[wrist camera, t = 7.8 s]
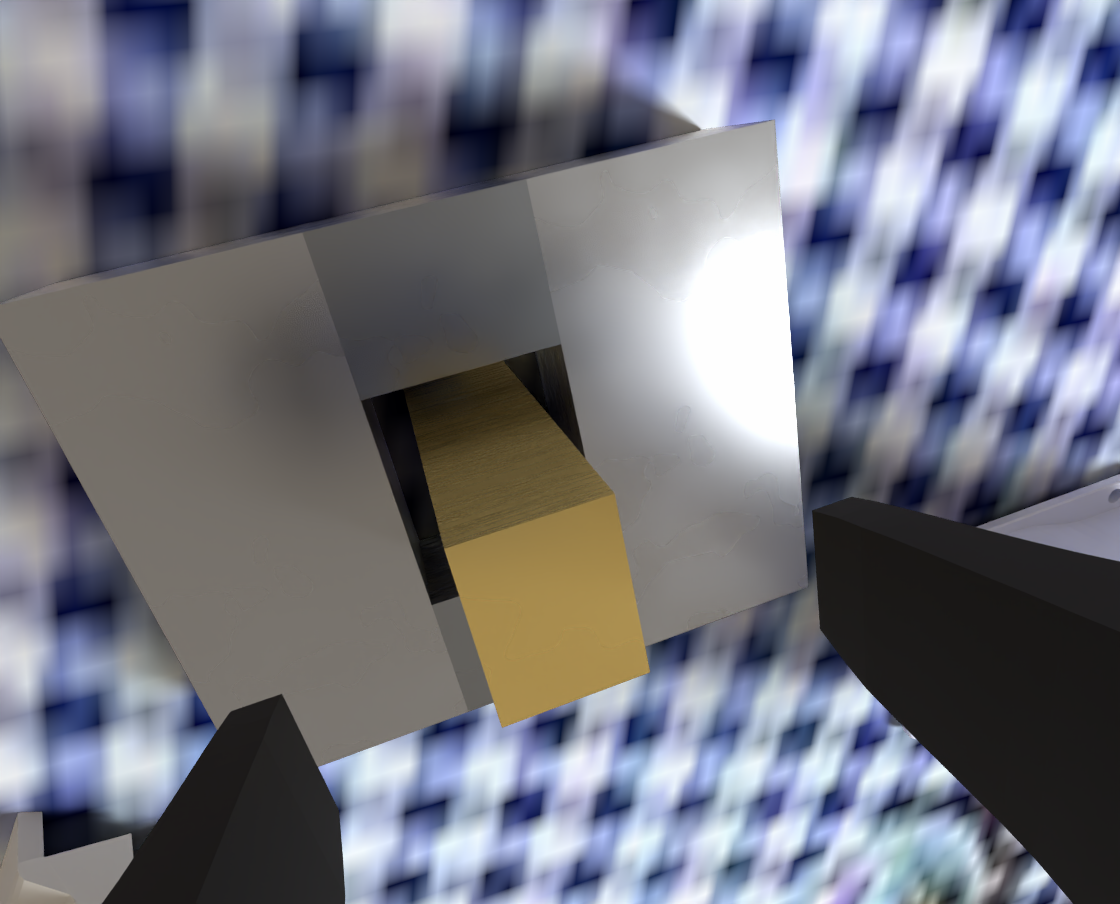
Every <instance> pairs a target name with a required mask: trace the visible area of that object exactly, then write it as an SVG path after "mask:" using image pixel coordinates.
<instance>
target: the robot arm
mask: <svg viewBox="0 0 1120 904" xmlns="http://www.w3.org/2000/svg"><path fill="white" fill-rule="evenodd" d="M812 514H813V529H814V544H815V559H816V574H817V589H818V604H819V619H820V629H821V631H822V632H823V633H824V635H825V636H826V637H827V639H828V640H829V641H830V643H831V644H832V645H833V647H834V648H835V649H836V651H837V652H838V653H839V655H840V656H841V657H842V659H843V660H844V661H845V663H846V664H847V665H848V666H849V668H850V669H851V670H852V671H853V673H854V674H855V675H856V676H857V678H858V679H859V680H860V681H861V682H862V684H863V685H864V686H865V687H866V689H867V690H868V691H869V692H870V693H871V694H872V695H873V696H874V697H875V698H876V699H877V700H878V701H879V702H880V703H881V704H882V705H883V706H884V707H885V708H886V709H887V710H888V711H889V712H890V713H891V714H892V715H893V716H894V717H895V718H896V719H897V720H898V721H899V722H900V723H901V724H902V727H903V731H904V732H905V733H906V734H907V735H908V736H909V737H910V738H912V739H917V740H918V741H919V742H920V743H921V744H922V745H923V746H924V747H925V748H926V749H927V750H928V751H929V752H930V753H931V754H932V755H933V756H934V757H935V758H936V759H937V760H938V761H939V762H940V763H941V764H942V765H943V766H944V767H945V768H946V769H947V770H948V771H949V772H950V773H951V774H952V775H953V776H954V777H955V778H956V779H957V780H958V781H959V782H960V783H961V784H962V785H963V786H964V787H965V788H966V789H967V790H968V791H969V792H970V793H971V794H972V795H973V796H974V797H975V798H976V799H977V800H978V801H979V802H980V803H981V804H983V805H984V806H985V807H986V808H987V809H988V810H989V811H990V812H991V813H992V814H993V815H994V816H995V817H996V818H997V819H998V820H999V821H1000V822H1001V823H1002V824H1003V825H1004V826H1005V827H1006V828H1007V830H1008V831H1009V832H1010V833H1011V834H1012V835H1013V836H1014V837H1015V838H1016V839H1017V840H1018V841H1019V842H1020V843H1021V844H1022V845H1023V847H1024V848H1025V849H1026V850H1027V851H1028V852H1029V853H1030V854H1031V855H1032V856H1033V857H1034V858H1035V859H1036V860H1037V862H1038V863H1039V864H1040V865H1041V866H1042V867H1043V869H1044V870H1045V871H1046V872H1047V873H1048V874H1049V876H1050V877H1051V878H1052V879H1053V880H1054V882H1055V883H1056V884H1057V885H1058V886H1059V887H1060V889H1061V890H1062V891H1063V892H1064V893H1065V894H1066V896H1067V897H1068V898H1069V899H1070V900H1071V902H1072V903H1073V904H1120V474H1118V475H1116V476H1113V477H1110V478H1108V479H1105V480H1102V481H1099V482H1097V483H1094V484H1091V485H1089V486H1086V487H1083V488H1080V489H1078V490H1075V491H1072V492H1069V493H1067V494H1064V495H1061V496H1059V497H1056V498H1053V499H1050V500H1048V501H1045V502H1042V503H1040V504H1037V505H1034V506H1031V507H1029V508H1026V509H1023V510H1021V511H1018V512H1015V513H1012V514H1010V515H1007V516H1004V517H1001V518H999V519H996V520H993V521H991V522H988V523H985V524H982V525H980V526H977V527H974V526H970V525H966V524H962V523H958V522H955V521H951V520H947V519H943V518H939V517H936V516H932V515H928V514H924V513H920V512H916V511H913V510H909V509H905V508H900V507H896V506H892V505H888V504H884V503H880V502H875V501H870V500H865V499H860V498H854V497H850V498H847V499H844V500H841V501H838V502H836V503H833V504H830V505H827V506H824V507H821V508H818V509H815V510H812ZM102 904H345V886H344V869H343V854H342V842H341V830H340V818H339V810H338V808H337V806H336V804H335V802H334V800H333V798H332V796H331V793H330V791H329V789H328V787H327V785H326V783H325V781H324V779H323V777H322V775H321V773H320V771H319V769H318V767H317V765H316V763H315V761H314V758H313V756H312V754H311V752H310V750H309V748H308V746H307V744H306V742H305V740H304V738H303V736H302V734H301V732H300V730H299V728H298V726H297V723H296V721H295V719H294V717H293V715H292V713H291V711H290V709H289V707H288V705H287V703H286V701H285V699H284V697H283V695H282V694H279V695H277V696H274V697H271V698H268V699H265V700H262V701H259V702H256V703H253V704H250V705H248V706H245V707H242V708H239V709H236V710H233V711H230V713H229V714H228V716H227V717H226V718H225V720H224V721H223V723H222V724H221V726H220V727H219V729H218V730H217V732H216V733H215V735H214V736H213V738H212V739H211V741H210V742H209V744H208V745H207V747H206V748H205V750H204V751H203V753H202V755H201V756H200V758H199V759H198V761H197V762H196V764H195V765H194V767H193V768H192V770H191V772H190V773H189V775H188V776H187V778H186V779H185V781H184V782H183V784H182V785H181V787H180V789H179V790H178V792H177V793H176V795H175V796H174V798H173V799H172V801H171V802H170V804H169V805H168V807H167V808H166V810H165V811H164V813H163V814H162V816H161V817H160V819H159V820H158V822H157V823H156V825H155V826H154V828H153V829H152V831H151V832H150V834H149V835H148V837H147V838H146V840H145V841H144V843H143V844H142V846H141V847H140V849H139V850H138V852H137V853H136V855H135V856H134V858H133V859H132V861H131V862H130V864H129V865H128V867H127V868H126V870H125V871H124V873H123V874H122V876H121V877H120V879H119V880H118V882H117V883H116V884H115V886H114V887H113V889H112V890H111V891H110V893H109V894H108V896H107V897H106V898H105V900H104V901H103V903H102Z"/></svg>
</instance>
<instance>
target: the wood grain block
mask: <svg viewBox="0 0 1120 904" xmlns="http://www.w3.org/2000/svg"><path fill="white" fill-rule="evenodd" d="M403 390H404V394H405V398H406V402H407V405H408V409H409V413H410V417H411V421H412V425H413V429H414V433H415V437H416V441H417V445H418V449H419V453H420V456H421V460H422V464H423V468H424V472H425V476H426V480H427V484H428V488H429V492H430V496H431V500H432V504H433V507H434V511H435V515H436V519H437V523H438V527H439V531H440V535H441V539H442V543H443V547H444V550H445V553H446V556H447V559H448V563H449V566H450V569H451V572H452V575H453V578H454V581H455V584H456V587H457V590H458V593H459V596H460V600H461V603H462V606H463V609H464V612H465V615H466V618H467V621H468V624H469V627H470V630H471V633H472V636H473V640H474V643H475V646H476V649H477V652H478V655H479V658H480V661H481V664H482V667H483V670H484V673H485V677H486V680H487V683H488V686H489V689H490V692H491V695H492V698H493V701H494V704H495V707H496V710H497V713H498V717H499V720H500V723H501V726H502V728H503V727H505V726H508V725H511V724H513V723H516V722H519V721H521V720H524V719H527V718H529V717H532V716H535V715H537V714H540V713H543V712H545V711H548V710H551V709H553V708H556V707H559V706H561V705H564V704H567V703H569V702H572V701H575V700H577V699H580V698H583V697H585V696H588V695H591V694H593V693H596V692H599V691H601V690H604V689H607V688H609V687H612V686H615V685H617V684H620V683H623V682H625V681H628V680H631V679H633V678H636V677H639V676H641V675H644V674H647V673H649V672H650V670H649V665H648V660H647V654H646V649H645V644H644V639H643V634H642V629H641V624H640V619H639V614H638V609H637V604H636V599H635V594H634V589H633V584H632V579H631V574H630V569H629V564H628V559H627V553H626V548H625V543H624V538H623V533H622V528H621V523H620V518H619V513H618V508H617V503H616V498H615V493H614V492H613V491H612V490H611V489H610V487H609V486H608V485H607V484H606V483H605V481H604V480H603V479H602V478H601V477H600V476H599V474H598V473H597V472H596V471H595V470H594V468H593V467H592V466H591V465H590V464H589V462H588V461H587V460H586V459H585V458H584V456H583V455H582V454H581V453H580V452H579V451H578V449H577V448H576V447H575V446H574V445H573V443H572V442H571V441H570V440H569V439H568V437H567V436H566V435H565V434H564V433H563V431H562V430H561V429H560V428H559V427H558V425H557V424H556V423H555V422H554V421H553V420H552V418H551V417H550V416H549V415H548V414H547V412H546V411H545V410H544V409H543V408H542V406H541V405H540V404H539V403H538V402H537V400H536V399H535V398H534V397H533V396H532V395H531V393H530V392H529V391H528V390H527V389H526V387H525V386H524V385H523V384H522V383H521V381H520V380H519V379H518V378H517V377H516V375H515V374H514V373H513V372H512V371H511V370H510V368H509V367H508V366H507V365H506V364H505V362H504V361H499V362H496V363H492V364H488V365H485V366H481V367H478V368H474V369H471V370H467V371H464V372H460V373H457V374H453V375H450V376H446V377H442V378H439V379H435V380H432V381H428V382H425V383H421V384H418V385H414V386H411V387H407V388H404V389H403Z"/></svg>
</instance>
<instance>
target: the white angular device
mask: <svg viewBox="0 0 1120 904" xmlns="http://www.w3.org/2000/svg"><path fill="white" fill-rule="evenodd" d="M137 852H138V850H133V847H132V835H131V833H130V834H127V835H123V836H120V837H116V838H112V839H109V840H105V841H102V842H98V843H94V844H91V845H87V846H83V847H80V848H76V849H73V850H69V851H65V852H62V853H58V854H55V855H51V856H47V857H44V843H43V817H42V812H19V813H18V814H17V817H16V820H15V823H14V826H13V830H12V833H11V836H10V839H9V842H8V846H7V849H6V852H5V855H4V858H3V862H2V865H1V868H0V904H102V903H103V901H104V900H105V898H106V897H107V896H108V894H109V893H110V891H111V890H112V889H113V887H114V886H115V884H116V883H117V882H118V880H119V879H120V877H121V876H122V874H123V873H124V871H125V870H126V868H127V867H128V865H129V864H130V862H131V861H132V859H133V858H134V856H135V855H136V853H137Z"/></svg>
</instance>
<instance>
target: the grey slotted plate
mask: <svg viewBox="0 0 1120 904" xmlns="http://www.w3.org/2000/svg"><path fill="white" fill-rule="evenodd" d="M0 338H1V340H2V342H3V343H4V345H5V347H6V349H7V351H8V352H9V354H10V356H11V358H12V360H13V361H14V363H15V365H16V367H17V369H18V370H19V372H20V374H21V376H22V378H23V380H24V381H25V383H26V385H27V387H28V389H29V390H30V392H31V394H32V396H33V398H34V399H35V401H36V403H37V405H38V407H39V408H40V410H41V412H42V414H43V416H44V418H45V419H46V421H47V423H48V425H49V427H50V428H51V430H52V432H53V434H54V436H55V437H56V439H57V441H58V443H59V445H60V446H61V448H62V450H63V452H64V454H65V456H66V457H67V459H68V461H69V463H70V465H71V466H72V468H73V470H74V472H75V474H76V475H77V477H78V479H79V481H80V483H81V484H82V486H83V488H84V490H85V492H86V493H87V495H88V497H89V499H90V501H91V503H92V504H93V506H94V508H95V510H96V512H97V513H98V515H99V517H100V519H101V521H102V522H103V524H104V526H105V528H106V530H107V531H108V533H109V535H110V537H111V539H112V541H113V542H114V544H115V546H116V548H117V550H118V551H119V553H120V555H121V557H122V559H123V560H124V562H125V564H126V566H127V568H128V569H129V571H130V573H131V575H132V577H133V578H134V580H135V582H136V584H137V586H138V588H139V589H140V591H141V593H142V595H143V597H144V598H145V600H146V602H147V604H148V606H149V607H150V609H151V611H152V613H153V615H154V616H155V618H156V620H157V622H158V624H159V626H160V627H161V629H162V631H163V633H164V635H165V636H166V638H167V640H168V642H169V644H170V645H171V647H172V649H173V651H174V653H175V654H176V656H177V658H178V660H179V662H180V663H181V665H182V667H183V669H184V671H185V673H186V674H187V676H188V678H189V680H190V682H191V683H192V685H193V687H194V689H195V691H196V692H197V694H198V696H199V698H200V700H201V701H202V703H203V705H204V707H205V709H206V711H207V712H208V714H209V716H210V718H211V720H212V721H213V723H214V725H215V727H216V729H217V730H218V729H219V727H220V726H221V724H222V723H223V721H224V720H225V718H226V717H227V716H228V714H229V713H230V711H233V710H236V709H239V708H242V707H245V706H248V705H250V704H253V703H256V702H259V701H262V700H265V699H268V698H271V697H274V696H277V695H279V694H282V695H283V697H284V699H285V701H286V703H287V705H288V707H289V709H290V711H291V713H292V715H293V717H294V719H295V721H296V723H297V726H298V728H299V730H300V732H301V734H302V736H303V738H304V740H305V742H306V744H307V746H308V748H309V750H310V752H311V754H312V756H313V758H314V761H315V763H316V765H317V767H319V766H322V765H324V764H327V763H330V762H333V761H335V760H338V759H341V758H344V757H346V756H349V755H352V754H354V753H357V752H360V751H363V750H365V749H368V748H371V747H373V746H376V745H379V744H382V743H384V742H387V741H390V740H393V739H395V738H398V737H401V736H403V735H406V734H409V733H412V732H414V731H417V730H420V729H423V728H425V727H428V726H431V725H433V724H436V723H439V722H442V721H444V720H447V719H450V718H452V717H455V716H458V715H461V714H463V713H466V712H469V711H472V710H474V709H477V708H480V707H482V706H485V705H488V704H491V703H493V702H494V701H493V698H492V695H491V692H490V689H489V686H488V683H487V680H486V677H485V673H484V670H483V667H482V664H481V661H480V658H479V655H478V652H477V649H476V646H475V643H474V640H473V636H472V633H471V630H470V627H469V624H468V621H467V618H466V615H465V612H464V609H463V606H462V603H461V600H460V596H459V593H458V590H457V587H456V584H455V581H454V578H453V575H452V572H451V569H450V566H449V563H448V559H447V556H446V553H445V550H444V547H443V543H442V539H441V535H440V534H439V535H436V536H433V537H430V538H426V539H423V540H420V541H419V538H418V535H417V533H416V530H415V527H414V524H413V521H412V518H411V515H410V512H409V509H408V506H407V503H406V500H405V497H404V494H403V491H402V488H401V485H400V483H399V480H398V477H397V474H396V471H395V468H394V465H393V462H392V459H391V456H390V453H389V450H388V447H387V444H386V441H385V438H384V435H383V433H382V430H381V427H380V424H379V421H378V418H377V415H376V412H375V409H374V406H373V403H372V400H371V398H372V397H375V396H379V395H382V394H386V393H389V392H393V391H396V390H400V389H404V388H407V387H411V386H414V385H418V384H421V383H425V382H428V381H432V380H435V379H439V378H442V377H446V376H450V375H453V374H457V373H460V372H464V371H467V370H471V369H474V368H478V367H481V366H485V365H488V364H492V363H496V362H499V361H503V360H506V359H510V358H513V357H517V356H520V355H524V354H527V353H531V352H534V351H535V354H536V359H537V363H538V368H539V372H540V376H541V381H542V385H543V389H544V394H545V398H546V402H547V407H548V411H549V415H550V417H551V418H552V420H553V421H554V422H555V423H556V424H557V425H558V427H559V428H560V429H561V430H562V431H563V433H564V434H565V435H566V436H567V437H568V439H569V440H570V441H571V442H572V443H573V445H574V446H575V447H576V448H577V449H578V451H579V452H580V453H581V454H582V455H583V456H584V458H585V459H586V460H587V461H588V462H589V464H590V465H591V466H592V467H593V468H594V470H595V471H596V472H597V473H598V474H599V476H600V477H601V478H602V479H603V480H604V481H605V483H606V484H607V485H608V486H609V487H610V489H611V490H612V491H613V492H614V493H615V498H616V503H617V508H618V513H619V518H620V523H621V528H622V533H623V538H624V543H625V548H626V553H627V559H628V564H629V569H630V574H631V579H632V584H633V589H634V594H635V599H636V604H637V609H638V614H639V619H640V624H641V629H642V634H643V639H644V644H645V647H646V646H649V645H651V644H654V643H657V642H659V641H662V640H665V639H668V638H670V637H673V636H676V635H678V634H681V633H684V632H687V631H689V630H692V629H695V628H698V627H700V626H703V625H706V624H708V623H711V622H714V621H717V620H719V619H722V618H725V617H728V616H730V615H733V614H736V613H738V612H741V611H744V610H747V609H749V608H752V607H755V606H757V605H760V604H763V603H766V602H768V601H771V600H774V599H777V598H779V597H782V596H785V595H787V594H790V593H793V592H796V591H798V590H801V589H804V588H806V587H808V574H807V560H806V546H805V532H804V519H803V505H802V491H801V477H800V463H799V449H798V435H797V422H796V408H795V394H794V380H793V366H792V352H791V339H790V325H789V311H788V297H787V283H786V269H785V255H784V242H783V228H782V214H781V200H780V186H779V172H778V158H777V145H776V131H775V120H769V121H762V122H754V123H747V124H740V125H732V126H725V127H718V128H710V129H703V130H699V131H695V132H691V133H686V134H682V135H678V136H674V137H669V138H665V139H661V140H657V141H653V142H648V143H644V144H640V145H636V146H631V147H627V148H623V149H619V150H615V151H610V152H606V153H602V154H598V155H593V156H589V157H585V158H581V159H577V160H572V161H568V162H564V163H560V164H555V165H551V166H547V167H543V168H539V169H534V170H530V171H526V172H522V173H517V174H513V175H509V176H505V177H501V178H496V179H492V180H488V181H484V182H479V183H475V184H471V185H467V186H463V187H458V188H454V189H450V190H446V191H441V192H437V193H433V194H429V195H425V196H420V197H416V198H412V199H408V200H403V201H399V202H395V203H391V204H387V205H382V206H378V207H374V208H370V209H365V210H361V211H357V212H353V213H349V214H344V215H340V216H336V217H332V218H328V219H323V220H319V221H315V222H311V223H306V224H302V225H298V226H294V227H290V228H285V229H281V230H277V231H273V232H268V233H264V234H260V235H256V236H252V237H247V238H243V239H239V240H235V241H230V242H226V243H222V244H218V245H214V246H209V247H205V248H201V249H197V250H192V251H188V252H184V253H180V254H176V255H171V256H167V257H163V258H159V259H154V260H150V261H146V262H142V263H138V264H133V265H129V266H125V267H121V268H116V269H112V270H108V271H104V272H100V273H95V274H91V275H87V276H83V277H78V278H74V279H70V280H66V281H62V282H57V283H54V284H51V285H48V286H46V287H43V288H40V289H37V290H34V291H32V292H29V293H26V294H23V295H21V296H18V297H15V298H12V299H9V300H7V301H4V302H1V303H0Z"/></svg>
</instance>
